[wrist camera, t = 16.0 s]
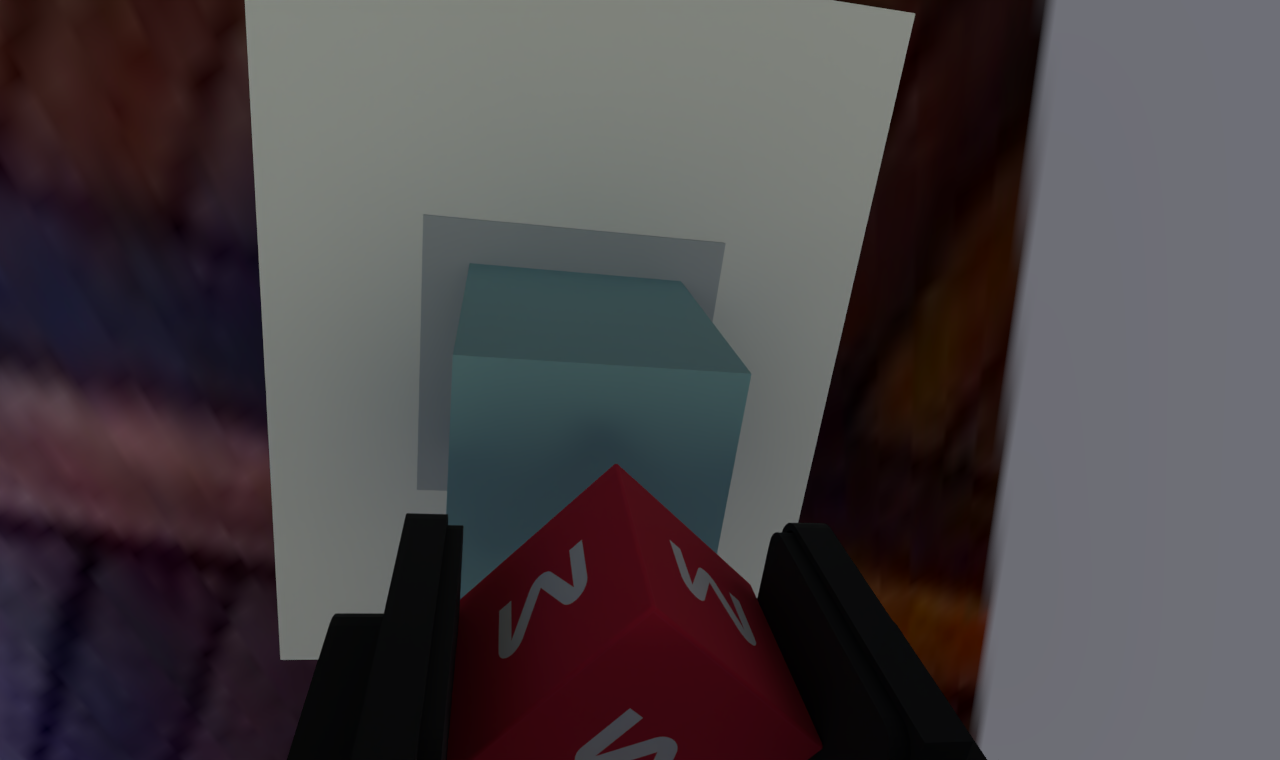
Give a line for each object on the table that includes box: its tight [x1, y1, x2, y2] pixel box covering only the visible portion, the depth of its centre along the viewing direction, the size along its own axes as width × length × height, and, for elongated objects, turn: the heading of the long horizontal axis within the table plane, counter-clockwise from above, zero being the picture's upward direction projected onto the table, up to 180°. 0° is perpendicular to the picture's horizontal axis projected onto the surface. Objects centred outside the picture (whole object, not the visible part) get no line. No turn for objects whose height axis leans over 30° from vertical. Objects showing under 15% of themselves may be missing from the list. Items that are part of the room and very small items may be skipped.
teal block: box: [446, 263, 751, 599], centre depth 17 cm, size 5×5×6 cm
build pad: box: [245, 0, 915, 660], centre depth 20 cm, size 18×14×1 cm
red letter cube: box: [447, 464, 823, 760], centre depth 10 cm, size 3×3×3 cm
